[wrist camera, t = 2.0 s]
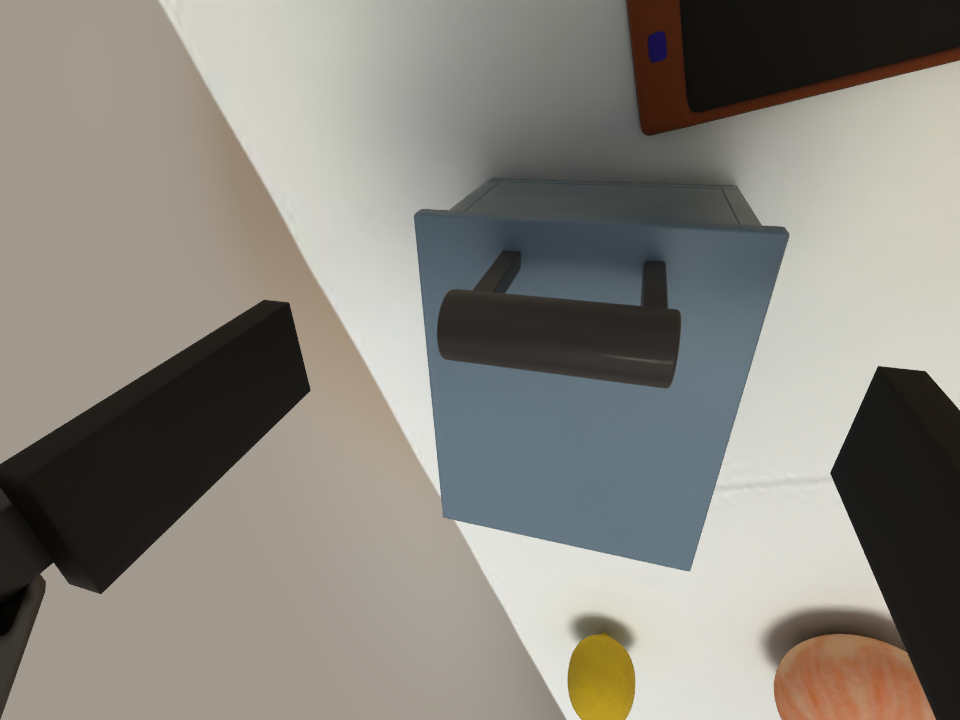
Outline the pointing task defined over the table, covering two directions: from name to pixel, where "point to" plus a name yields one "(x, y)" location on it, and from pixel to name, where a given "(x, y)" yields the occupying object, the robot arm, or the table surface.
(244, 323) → the robot arm
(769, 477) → the table surface
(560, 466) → the lid
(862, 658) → the orange pumpkin
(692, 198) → the blue-grey hollow box
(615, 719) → the lemon
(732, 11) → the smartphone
